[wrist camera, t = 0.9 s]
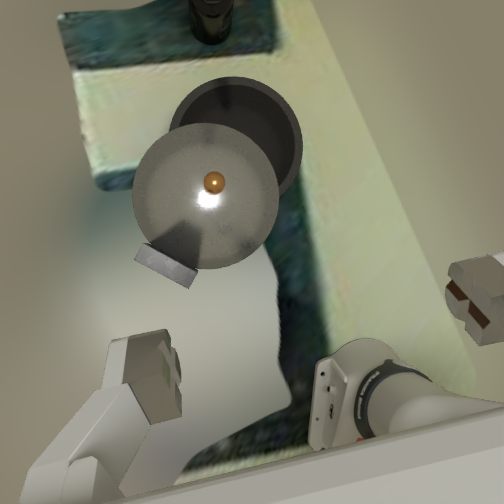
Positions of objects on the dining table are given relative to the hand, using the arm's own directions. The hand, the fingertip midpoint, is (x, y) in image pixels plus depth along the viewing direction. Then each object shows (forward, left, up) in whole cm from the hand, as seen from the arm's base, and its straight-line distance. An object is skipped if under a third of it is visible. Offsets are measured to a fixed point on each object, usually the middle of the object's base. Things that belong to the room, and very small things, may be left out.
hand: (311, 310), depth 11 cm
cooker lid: (+7, +5, -49) cm, 49 cm away
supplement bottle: (+37, +13, -58) cm, 70 cm away
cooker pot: (+17, +3, -58) cm, 60 cm away
